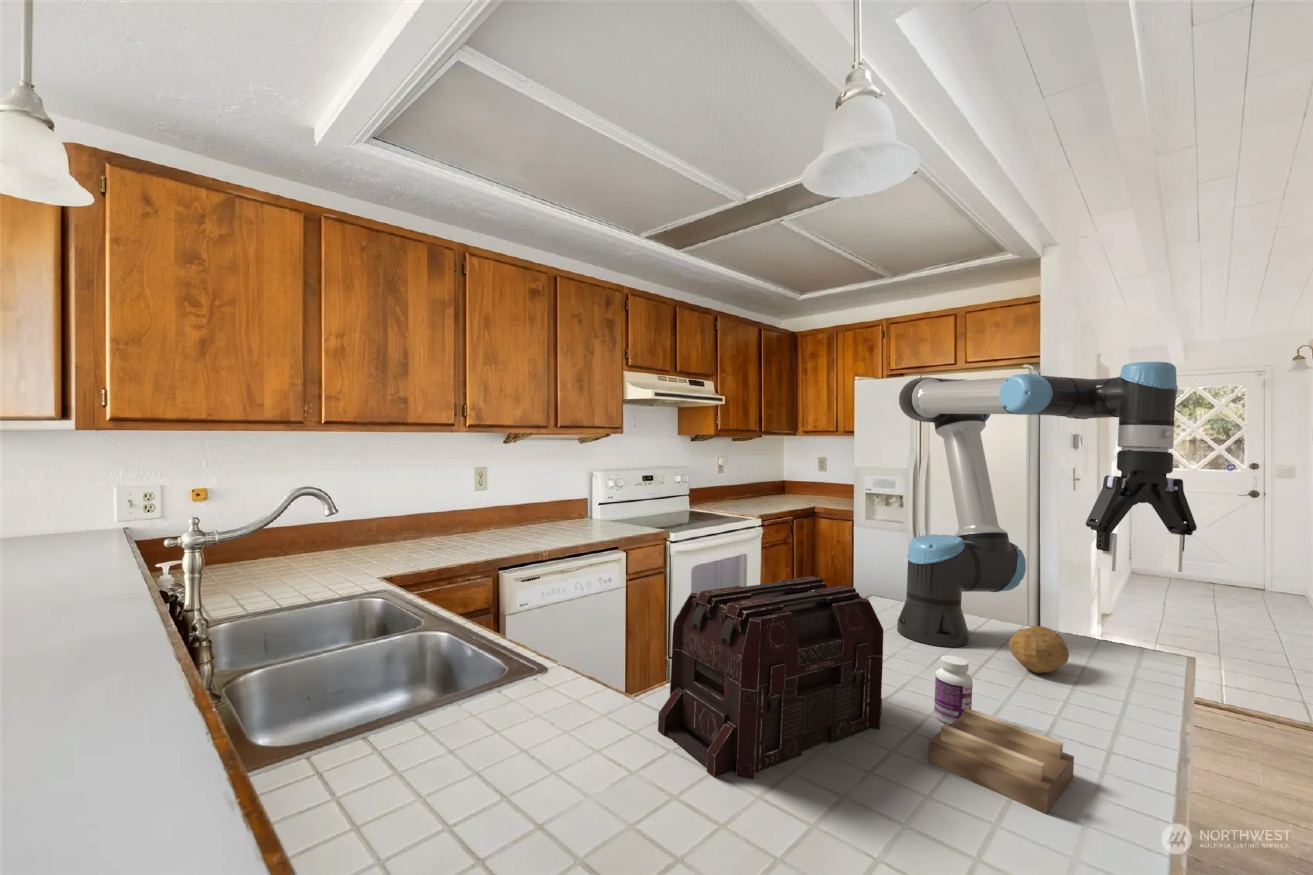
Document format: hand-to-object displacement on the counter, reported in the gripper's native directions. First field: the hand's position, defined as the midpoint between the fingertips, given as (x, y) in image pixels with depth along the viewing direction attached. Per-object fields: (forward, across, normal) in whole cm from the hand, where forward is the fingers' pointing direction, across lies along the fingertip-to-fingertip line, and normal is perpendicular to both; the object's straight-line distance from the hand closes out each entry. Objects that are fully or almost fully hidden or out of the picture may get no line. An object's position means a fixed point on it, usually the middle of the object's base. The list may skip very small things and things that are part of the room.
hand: (1139, 570), depth 99 cm
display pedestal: (+24, -40, -16) cm, 50 cm away
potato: (+24, -5, +15) cm, 29 cm away
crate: (+24, -67, -2) cm, 71 cm away
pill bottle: (+24, -37, -3) cm, 45 cm away
